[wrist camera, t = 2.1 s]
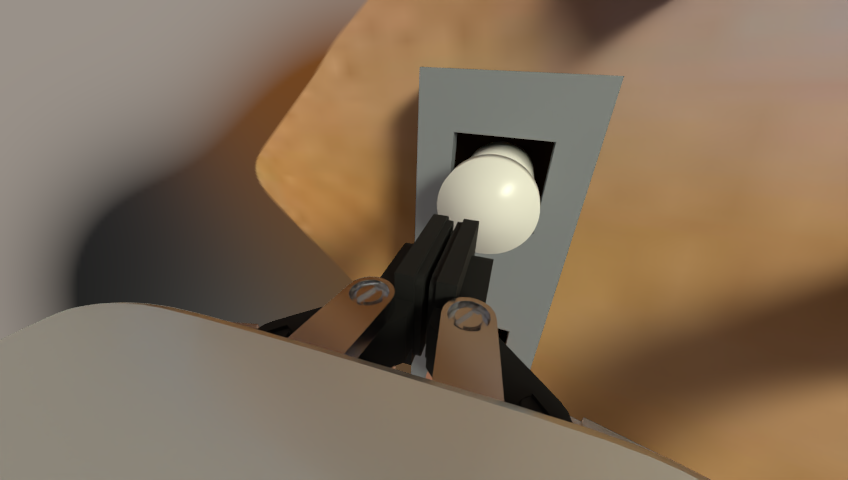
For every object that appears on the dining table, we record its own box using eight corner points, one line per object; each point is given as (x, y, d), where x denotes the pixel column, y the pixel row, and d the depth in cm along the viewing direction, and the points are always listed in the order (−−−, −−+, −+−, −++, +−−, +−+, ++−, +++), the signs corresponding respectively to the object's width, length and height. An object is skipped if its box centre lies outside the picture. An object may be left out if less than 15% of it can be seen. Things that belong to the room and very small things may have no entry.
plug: (547, 140, 18) (551, 166, 13) (530, 216, 21) (527, 262, 16) (465, 132, 19) (440, 153, 14) (457, 205, 22) (434, 244, 17)
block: (601, 75, 19) (623, 76, 14) (520, 356, 32) (517, 409, 27) (446, 68, 22) (419, 67, 17) (429, 331, 34) (410, 375, 29)
